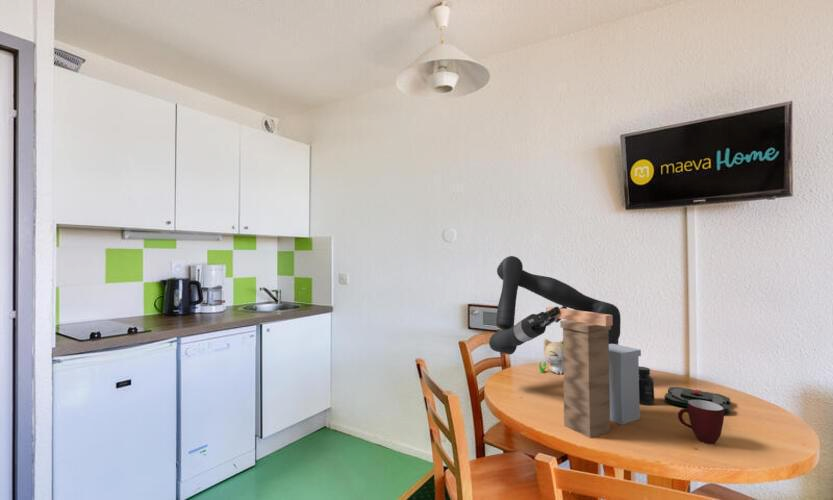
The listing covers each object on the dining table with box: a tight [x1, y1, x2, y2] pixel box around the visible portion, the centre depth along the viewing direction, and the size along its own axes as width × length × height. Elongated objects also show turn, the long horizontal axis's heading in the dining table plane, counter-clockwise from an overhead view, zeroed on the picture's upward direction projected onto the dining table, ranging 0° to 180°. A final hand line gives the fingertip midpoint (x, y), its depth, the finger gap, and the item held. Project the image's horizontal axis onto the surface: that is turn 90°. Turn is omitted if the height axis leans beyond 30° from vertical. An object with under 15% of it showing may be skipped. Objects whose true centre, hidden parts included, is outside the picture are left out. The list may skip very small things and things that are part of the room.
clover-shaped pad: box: [663, 386, 731, 414], centre depth 133 cm, size 18×18×5 cm
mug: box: [677, 400, 725, 445], centre depth 106 cm, size 10×8×10 cm
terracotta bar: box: [545, 306, 613, 326], centre depth 117 cm, size 22×3×3 cm, turn 28°
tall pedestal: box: [559, 319, 611, 439], centre depth 114 cm, size 10×10×32 cm
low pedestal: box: [609, 344, 642, 426], centre depth 122 cm, size 10×10×22 cm
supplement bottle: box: [639, 366, 655, 406], centre depth 135 cm, size 7×7×12 cm
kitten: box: [538, 338, 564, 375], centre depth 170 cm, size 15×10×15 cm, turn 90°
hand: (562, 309), depth 122 cm, fingers closed on terracotta bar, 3 cm apart
